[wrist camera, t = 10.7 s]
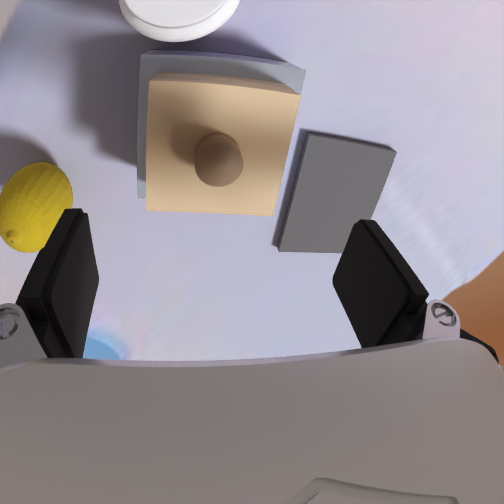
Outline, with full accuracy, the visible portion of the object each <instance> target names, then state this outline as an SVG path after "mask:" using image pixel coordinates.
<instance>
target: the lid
mask: <svg viewBox="0 0 504 504" xmlns="http://www.w3.org/2000/svg"><path fill="white" fill-rule="evenodd" d="M300 98H301V95H300V94H298V93H297V92H296V91H294V90H293V89H291V88H290V87H289V86H287V85H286V84H282V83H276V82H269V81H262V80H255V79H248V78H239V77H230V76H220V75H209V74H194V73H173V72H157V73H156V74H155V76H154V77H153V78H152V79H151V80H150V81H149V94H148V111H147V136H146V211H171V212H199V213H223V214H243V215H262V216H273V212H274V208H275V204H276V200H277V196H278V192H279V187H280V183H281V179H282V175H283V171H284V166H285V162H286V158H287V154H288V150H289V145H290V141H291V137H292V133H293V128H294V124H295V120H296V115H297V111H298V107H299V102H300Z"/></svg>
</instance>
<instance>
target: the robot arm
mask: <svg viewBox="0 0 504 504" xmlns="http://www.w3.org/2000/svg"><path fill="white" fill-rule="evenodd" d="M98 283H99V275H98V270H97V265H96V260H95V254H94V249H93V243H92V238H91V232H90V225H89V219H88V214H87V213H83V211H82V209H81V208H73V209H65V210H64V211H63V213H62V215H61V217H60V218H59V220H58V222H57V224H56V225H55V227H54V229H53V231H52V233H51V235H50V237H49V238H48V240H47V242H46V244H45V246H44V247H43V248H41V250H40V251H39V253H38V255H37V257H36V259H35V261H34V263H33V265H32V267H31V269H30V272H29V274H28V276H27V278H26V280H25V282H24V285H23V287H22V289H21V291H20V294H19V296H18V298H17V301H16V303H15V304H12V303H6V304H2V305H0V504H504V367H503V366H502V365H500V366H499V362H498V358H497V355H496V352H495V350H494V349H493V348H492V347H491V346H489V345H487V344H486V343H484V342H482V341H481V340H479V339H477V338H476V337H474V336H472V335H470V334H469V333H467V332H465V331H464V330H462V329H460V320H459V317H458V314H457V313H456V311H455V310H454V309H453V308H452V307H451V306H450V305H449V304H447V303H446V302H444V301H441V300H436V299H435V300H431V301H430V302H429V303H428V304H427V303H426V301H425V300H426V298H427V297H428V295H429V293H428V292H427V290H426V289H425V287H424V286H423V284H422V283H421V281H420V280H419V279H418V277H417V276H416V274H415V273H414V272H413V270H412V269H411V267H410V266H409V265H408V263H407V262H406V260H405V259H404V258H403V256H402V255H401V254H400V252H399V251H398V250H397V248H396V247H395V246H394V244H393V243H392V242H391V240H390V239H389V238H388V237H387V235H386V234H385V233H384V231H383V230H382V229H381V228H380V226H379V225H378V224H377V222H376V221H374V220H366V219H360V220H359V221H358V222H357V223H355V224H354V225H353V227H352V230H351V232H350V235H349V238H348V240H347V243H346V245H345V248H344V251H343V253H342V256H341V258H340V261H339V263H338V266H337V268H336V270H335V273H334V275H333V286H334V288H335V290H336V292H337V295H338V297H339V299H340V301H341V303H342V305H343V307H344V309H345V312H346V314H347V316H348V318H349V320H350V322H351V325H352V327H353V329H354V331H355V333H356V336H357V338H358V340H359V342H360V345H361V347H362V348H361V349H353V350H345V351H337V352H328V353H319V354H309V355H299V356H287V357H274V358H259V359H241V360H215V361H136V360H103V359H84V358H83V352H84V346H85V341H86V336H87V331H88V327H89V322H90V317H91V313H92V308H93V304H94V300H95V296H96V292H97V288H98Z"/></svg>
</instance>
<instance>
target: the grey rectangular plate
mask: <svg viewBox="0 0 504 504" xmlns="http://www.w3.org/2000/svg"><path fill="white" fill-rule="evenodd" d="M396 153H397V152H396V151H394V150H393V149H389V148H385V147H381V146H376V145H372V144H367V143H362V142H358V141H353V140H348V139H342V138H337V137H332V136H326V135H320V134H314V133H308V132H307V134H306V138H305V142H304V146H303V150H302V154H301V158H300V162H299V166H298V170H297V174H296V178H295V182H294V186H293V190H292V193H291V197H290V201H289V205H288V209H287V213H286V217H285V220H284V224H283V228H282V232H281V235H280V239H279V243H278V247H277V248H278V251H279V252H314V253H343V251H344V248H345V245H346V243H347V240H348V238H349V235H350V232H351V230H352V227H353V225H354V224H355V223H357V222H358V221H359V220H360V219H366V220H370V219H371V217H372V215H373V212H374V210H375V207H376V205H377V202H378V200H379V198H380V195H381V192H382V190H383V187H384V185H385V182H386V180H387V177H388V174H389V172H390V169H391V167H392V164H393V161H394V158H395V156H396Z"/></svg>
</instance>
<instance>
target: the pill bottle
mask: <svg viewBox="0 0 504 504" xmlns="http://www.w3.org/2000/svg"><path fill="white" fill-rule="evenodd" d="M239 2H240V0H119V4H120V8H121V11H122V14H123V16H124V17H125V19H126V20H127V22H128V23H129V24H130V25H131V26H132V27H133V28H134V29H135V30H136V31H138V32H139V33H141V34H143V35H145V36H147V37H149V38H152V39H155V40H159V41H165V42H183V41H189V40H194V39H197V38H200V37H203V36H205V35H208V34H210V33H211V32H213V31H215V30H216V29H218V28H219V27H221V26H222V25H223V24H224V23H225V22H226V21H227V20H228V19H229V18H230V17H231V16H232V14H233V13H234V11H235V10H236V8H237V6H238V4H239Z"/></svg>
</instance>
